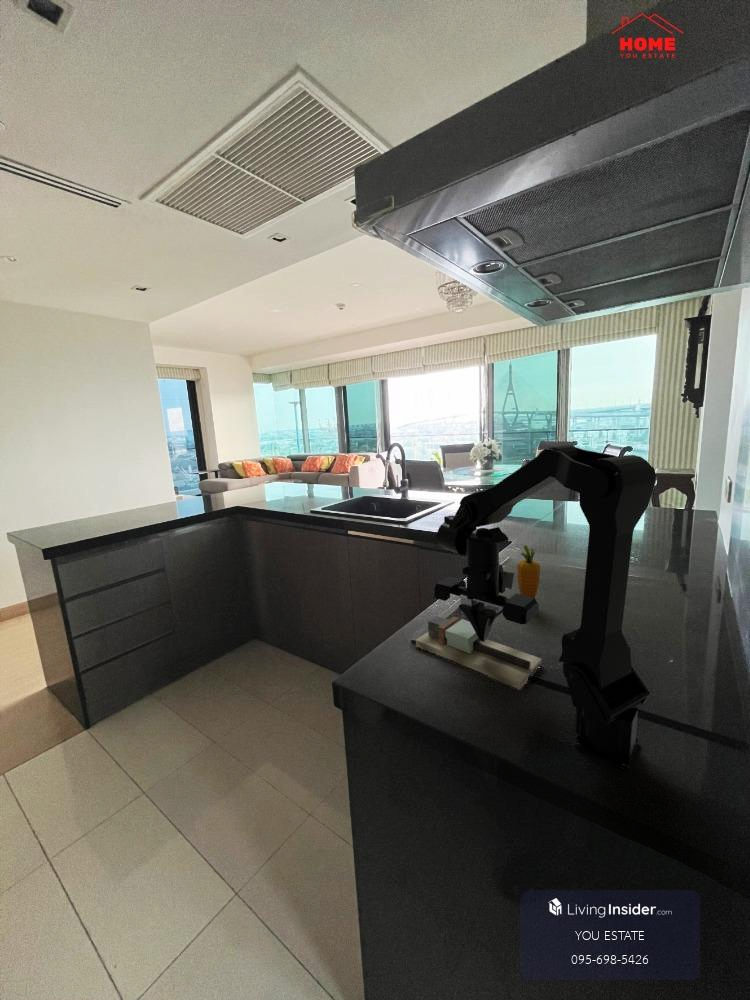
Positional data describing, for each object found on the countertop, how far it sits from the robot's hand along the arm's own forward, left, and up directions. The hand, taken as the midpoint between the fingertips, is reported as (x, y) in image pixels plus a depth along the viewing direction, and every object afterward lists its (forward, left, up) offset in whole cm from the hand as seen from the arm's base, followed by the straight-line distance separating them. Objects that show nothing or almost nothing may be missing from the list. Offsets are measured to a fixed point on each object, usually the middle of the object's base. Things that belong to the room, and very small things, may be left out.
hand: (483, 640), depth 78 cm
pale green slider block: (+4, 0, -2) cm, 4 cm away
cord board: (+2, 0, -4) cm, 4 cm away
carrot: (+3, -26, -4) cm, 26 cm away
